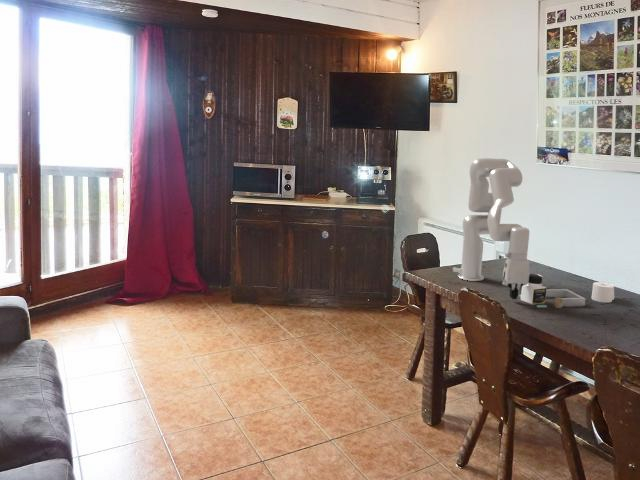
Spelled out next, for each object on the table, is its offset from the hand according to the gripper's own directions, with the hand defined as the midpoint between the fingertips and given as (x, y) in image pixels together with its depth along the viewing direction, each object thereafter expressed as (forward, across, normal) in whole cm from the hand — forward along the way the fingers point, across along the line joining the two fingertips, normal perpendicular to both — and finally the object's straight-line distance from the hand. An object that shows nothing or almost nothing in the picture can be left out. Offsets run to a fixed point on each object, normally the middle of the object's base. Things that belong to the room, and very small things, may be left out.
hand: (513, 298), depth 238 cm
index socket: (+2, +23, 0) cm, 23 cm away
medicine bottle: (+2, +9, 0) cm, 9 cm away
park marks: (+2, +9, 0) cm, 9 cm away
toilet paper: (+2, +44, +2) cm, 44 cm away
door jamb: (+2, +16, 0) cm, 16 cm away
